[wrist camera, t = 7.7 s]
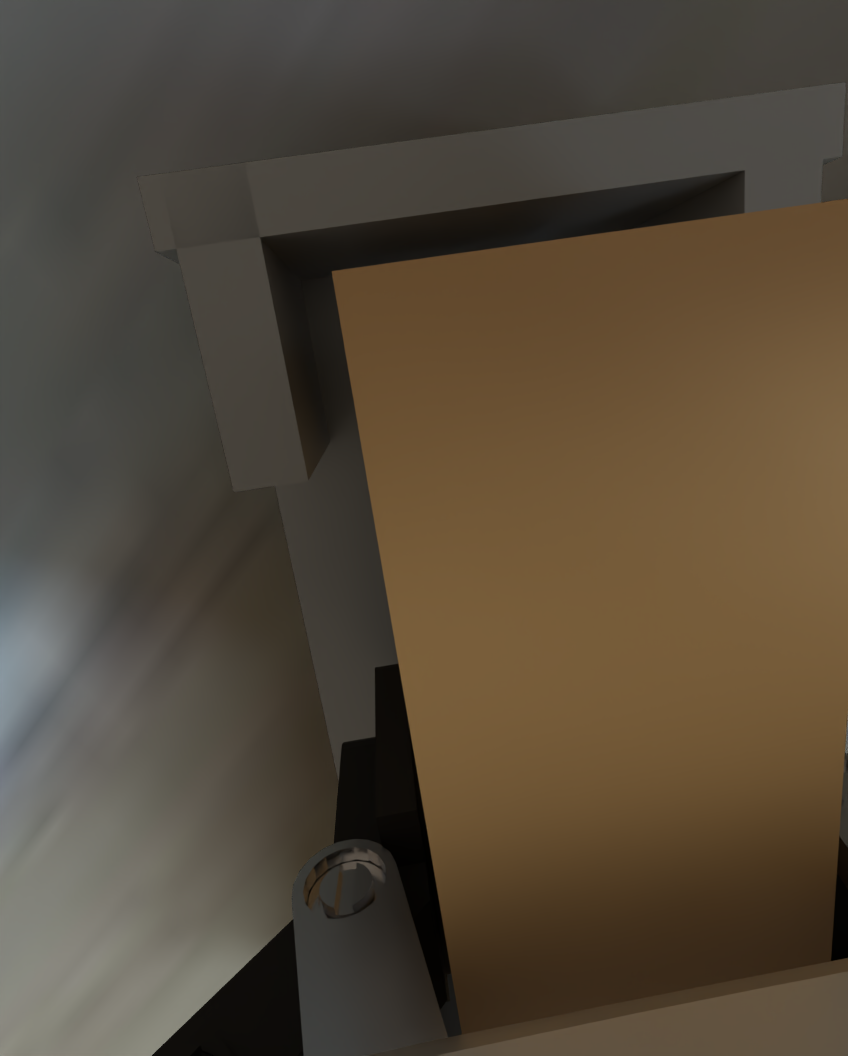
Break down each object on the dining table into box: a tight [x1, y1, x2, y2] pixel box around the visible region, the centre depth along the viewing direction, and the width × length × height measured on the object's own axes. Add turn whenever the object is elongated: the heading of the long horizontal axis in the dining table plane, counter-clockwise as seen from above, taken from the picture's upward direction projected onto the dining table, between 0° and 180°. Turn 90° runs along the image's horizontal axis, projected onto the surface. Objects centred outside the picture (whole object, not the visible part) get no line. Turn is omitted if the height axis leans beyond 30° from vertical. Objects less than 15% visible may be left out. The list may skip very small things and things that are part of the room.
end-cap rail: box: [137, 82, 846, 1037], centre depth 12 cm, size 19×8×5 cm, turn 8°
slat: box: [332, 199, 848, 1035], centre depth 9 cm, size 15×4×6 cm, turn 8°
